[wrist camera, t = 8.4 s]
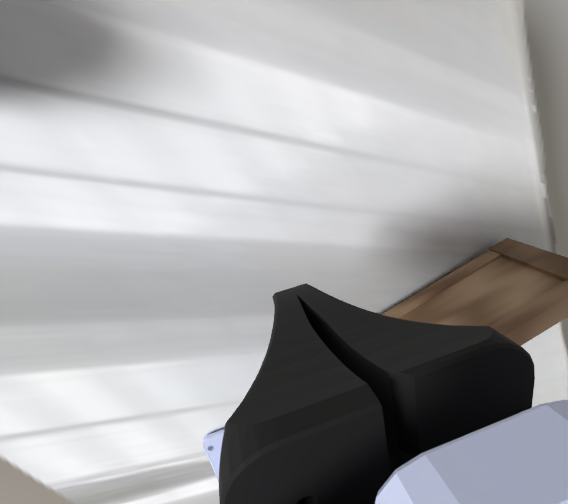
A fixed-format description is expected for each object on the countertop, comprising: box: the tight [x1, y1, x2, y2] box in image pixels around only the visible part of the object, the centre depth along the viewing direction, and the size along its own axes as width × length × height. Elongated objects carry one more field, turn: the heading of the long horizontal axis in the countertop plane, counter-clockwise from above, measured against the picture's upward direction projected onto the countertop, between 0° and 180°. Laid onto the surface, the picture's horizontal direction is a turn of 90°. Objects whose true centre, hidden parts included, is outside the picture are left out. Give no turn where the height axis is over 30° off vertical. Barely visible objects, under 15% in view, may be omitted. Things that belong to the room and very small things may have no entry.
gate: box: [381, 238, 568, 346], centre depth 21 cm, size 15×2×7 cm, turn 117°
